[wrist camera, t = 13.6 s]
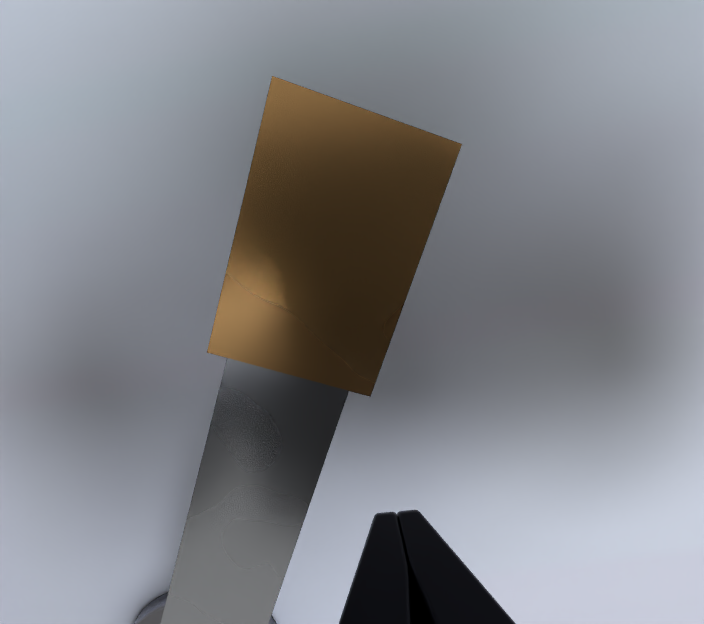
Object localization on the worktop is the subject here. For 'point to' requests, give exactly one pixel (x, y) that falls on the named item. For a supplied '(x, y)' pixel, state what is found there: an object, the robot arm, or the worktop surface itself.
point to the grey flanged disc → (159, 612)
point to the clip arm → (299, 332)
